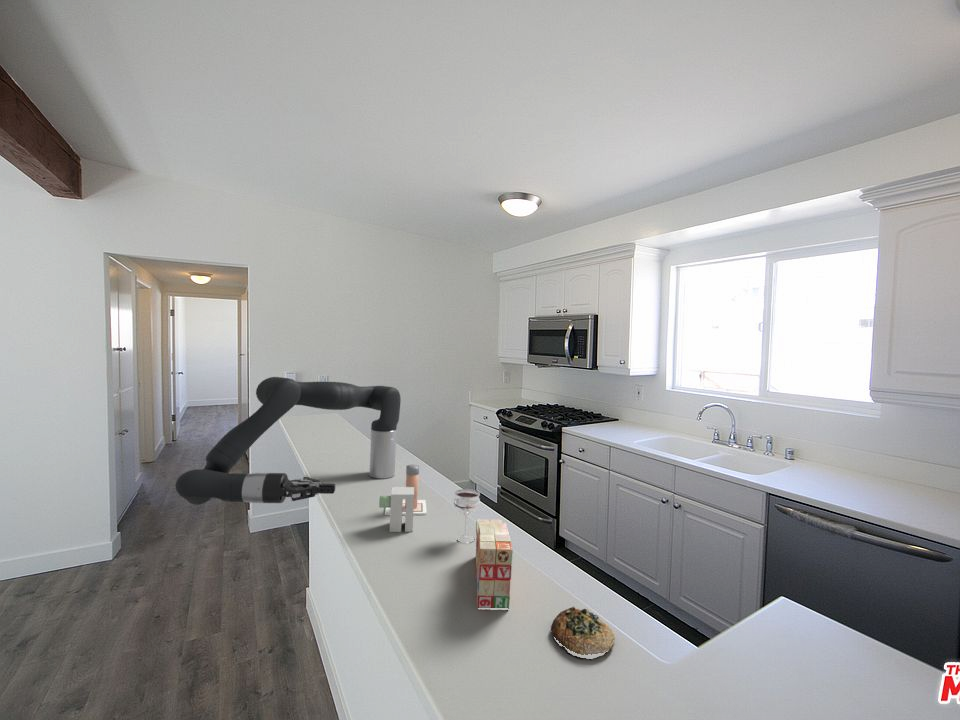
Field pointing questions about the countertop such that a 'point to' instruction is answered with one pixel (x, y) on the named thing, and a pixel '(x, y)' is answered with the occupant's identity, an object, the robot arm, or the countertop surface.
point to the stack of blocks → (493, 564)
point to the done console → (396, 508)
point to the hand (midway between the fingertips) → (334, 488)
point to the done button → (385, 502)
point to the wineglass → (466, 508)
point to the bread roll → (582, 632)
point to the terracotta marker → (412, 481)
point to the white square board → (418, 511)
